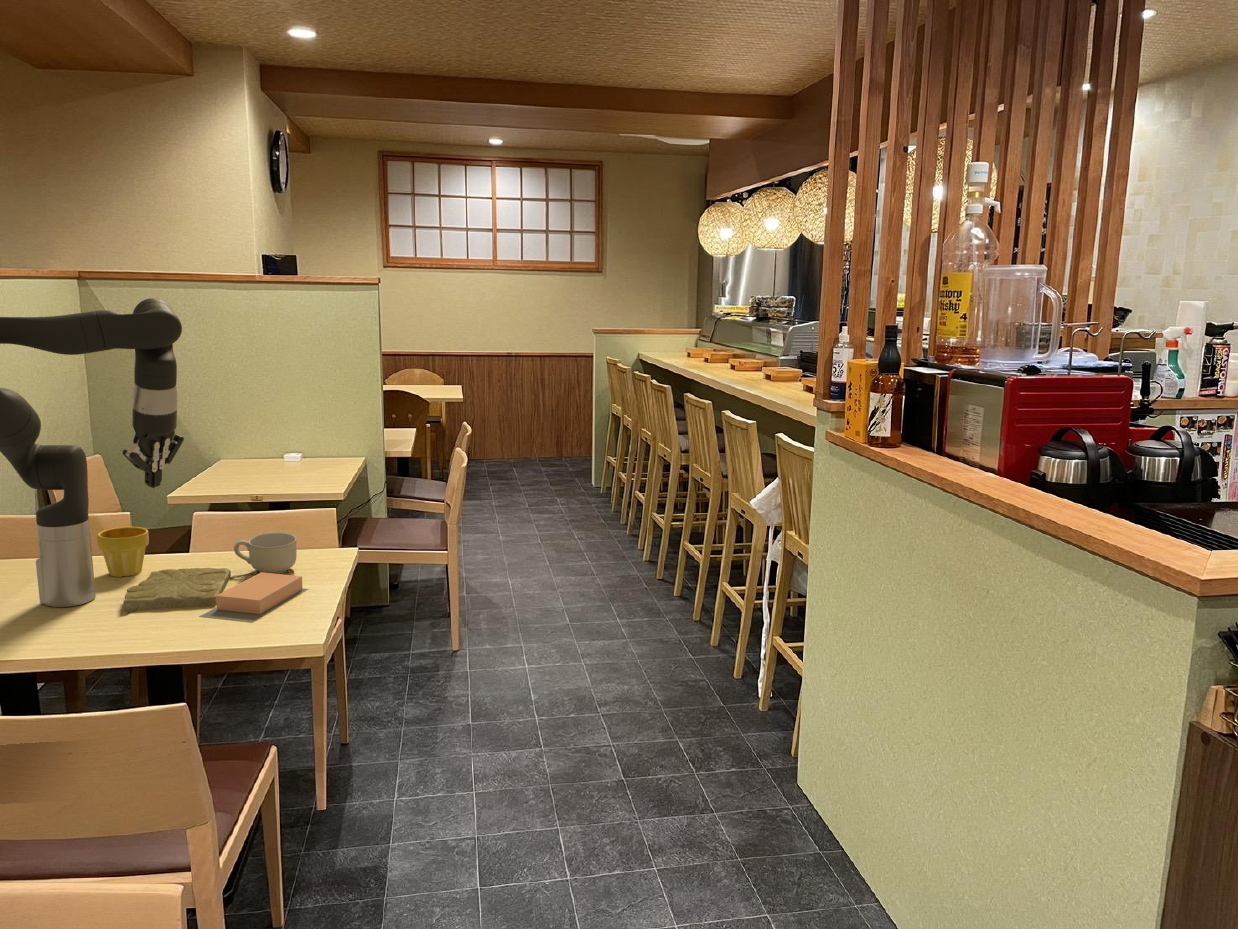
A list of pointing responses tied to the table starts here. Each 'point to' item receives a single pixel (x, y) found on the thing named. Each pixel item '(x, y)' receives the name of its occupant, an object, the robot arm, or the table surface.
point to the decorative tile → (177, 589)
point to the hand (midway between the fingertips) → (153, 485)
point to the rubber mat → (242, 615)
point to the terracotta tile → (259, 593)
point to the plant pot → (123, 549)
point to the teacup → (270, 552)
